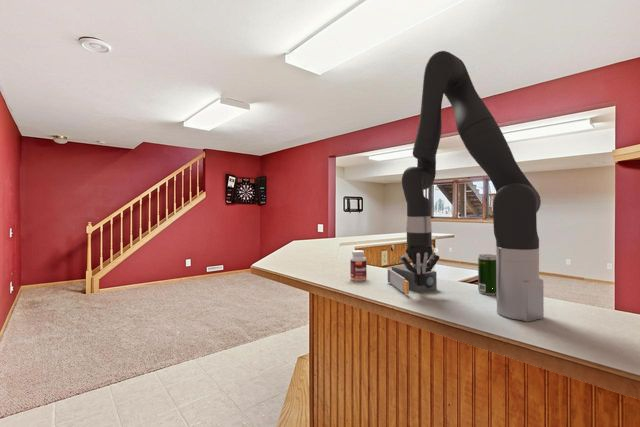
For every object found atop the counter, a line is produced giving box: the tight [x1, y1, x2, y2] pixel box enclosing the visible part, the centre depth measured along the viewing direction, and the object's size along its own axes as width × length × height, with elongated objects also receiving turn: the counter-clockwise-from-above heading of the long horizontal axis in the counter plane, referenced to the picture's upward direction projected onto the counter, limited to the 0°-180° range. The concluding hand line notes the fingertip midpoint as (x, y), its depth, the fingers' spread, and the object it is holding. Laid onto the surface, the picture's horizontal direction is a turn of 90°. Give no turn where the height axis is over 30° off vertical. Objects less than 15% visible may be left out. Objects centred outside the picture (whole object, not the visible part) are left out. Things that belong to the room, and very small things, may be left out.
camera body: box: [391, 264, 438, 293], centre depth 110 cm, size 15×8×7 cm, turn 22°
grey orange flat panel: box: [387, 268, 410, 295], centre depth 107 cm, size 18×1×5 cm, turn 5°
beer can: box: [477, 253, 497, 296], centre depth 100 cm, size 5×5×12 cm
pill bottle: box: [349, 249, 368, 282], centre depth 122 cm, size 6×6×11 cm
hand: (419, 285), depth 100 cm, fingers closed
